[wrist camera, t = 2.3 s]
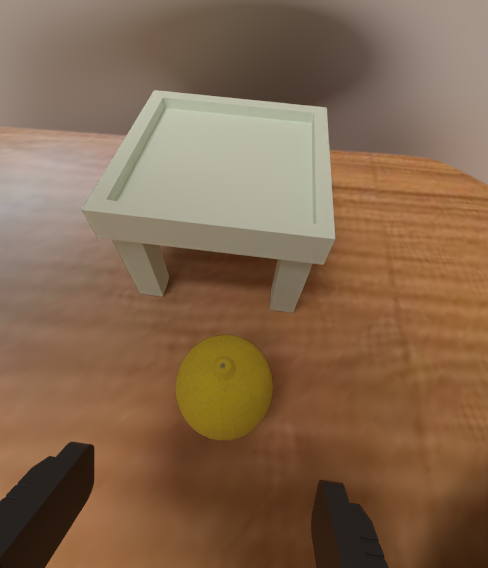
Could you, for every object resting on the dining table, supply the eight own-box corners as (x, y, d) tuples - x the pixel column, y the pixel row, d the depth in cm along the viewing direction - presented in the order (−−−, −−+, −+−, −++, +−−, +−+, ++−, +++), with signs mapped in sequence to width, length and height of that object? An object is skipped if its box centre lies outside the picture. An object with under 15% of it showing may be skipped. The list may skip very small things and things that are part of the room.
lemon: (239, 348, 22) (243, 295, 16) (280, 415, 20) (306, 387, 13) (172, 385, 21) (144, 345, 14) (208, 464, 18) (195, 461, 11)
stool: (132, 298, 24) (81, 209, 16) (174, 188, 32) (154, 90, 24) (299, 319, 24) (335, 239, 16) (301, 202, 31) (326, 107, 23)
